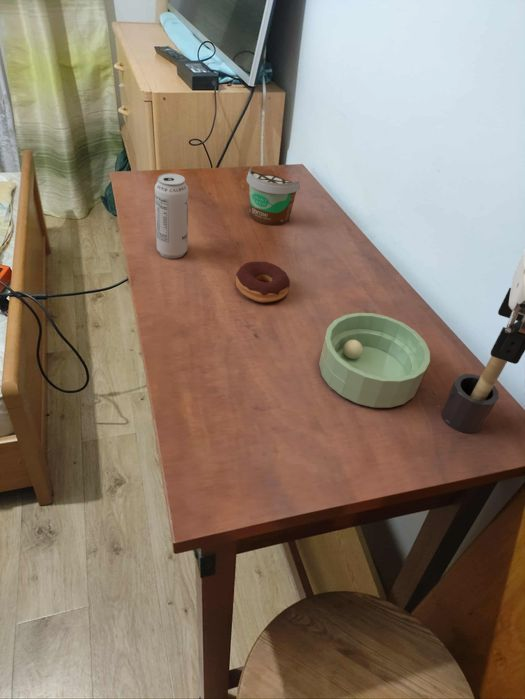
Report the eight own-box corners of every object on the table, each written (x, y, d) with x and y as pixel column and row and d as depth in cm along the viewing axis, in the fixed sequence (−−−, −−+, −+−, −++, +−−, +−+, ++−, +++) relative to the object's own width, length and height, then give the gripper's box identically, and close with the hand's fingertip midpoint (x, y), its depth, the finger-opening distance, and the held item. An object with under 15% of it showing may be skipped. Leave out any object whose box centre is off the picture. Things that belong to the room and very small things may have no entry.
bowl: (401, 342, 87) (411, 314, 83) (431, 411, 75) (445, 382, 71) (311, 340, 85) (318, 311, 81) (328, 410, 73) (336, 380, 69)
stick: (470, 411, 75) (517, 326, 65) (476, 421, 74) (525, 336, 63) (458, 411, 75) (503, 326, 64) (464, 422, 73) (510, 336, 63)
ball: (364, 359, 81) (366, 340, 81) (355, 360, 79) (357, 341, 78) (348, 356, 83) (350, 338, 83) (338, 357, 81) (340, 339, 80)
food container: (234, 218, 115) (238, 175, 108) (245, 208, 119) (249, 166, 113) (285, 233, 112) (292, 189, 106) (294, 222, 117) (301, 179, 110)
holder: (472, 402, 77) (488, 374, 73) (489, 433, 73) (506, 404, 69) (435, 402, 76) (448, 373, 73) (449, 433, 72) (464, 404, 68)
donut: (294, 304, 92) (297, 286, 89) (240, 307, 90) (242, 288, 87) (281, 274, 99) (283, 256, 97) (231, 275, 97) (232, 257, 94)
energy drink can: (190, 258, 100) (191, 185, 90) (160, 261, 98) (157, 186, 88) (183, 243, 104) (184, 171, 95) (154, 245, 102) (151, 172, 93)
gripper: (617, 255, 46) (534, 389, 57) (606, 192, 59) (539, 312, 70) (531, 232, 48) (467, 365, 59) (538, 176, 61) (484, 295, 72)
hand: (506, 336), depth 64 cm, fingers open, 9 cm apart
